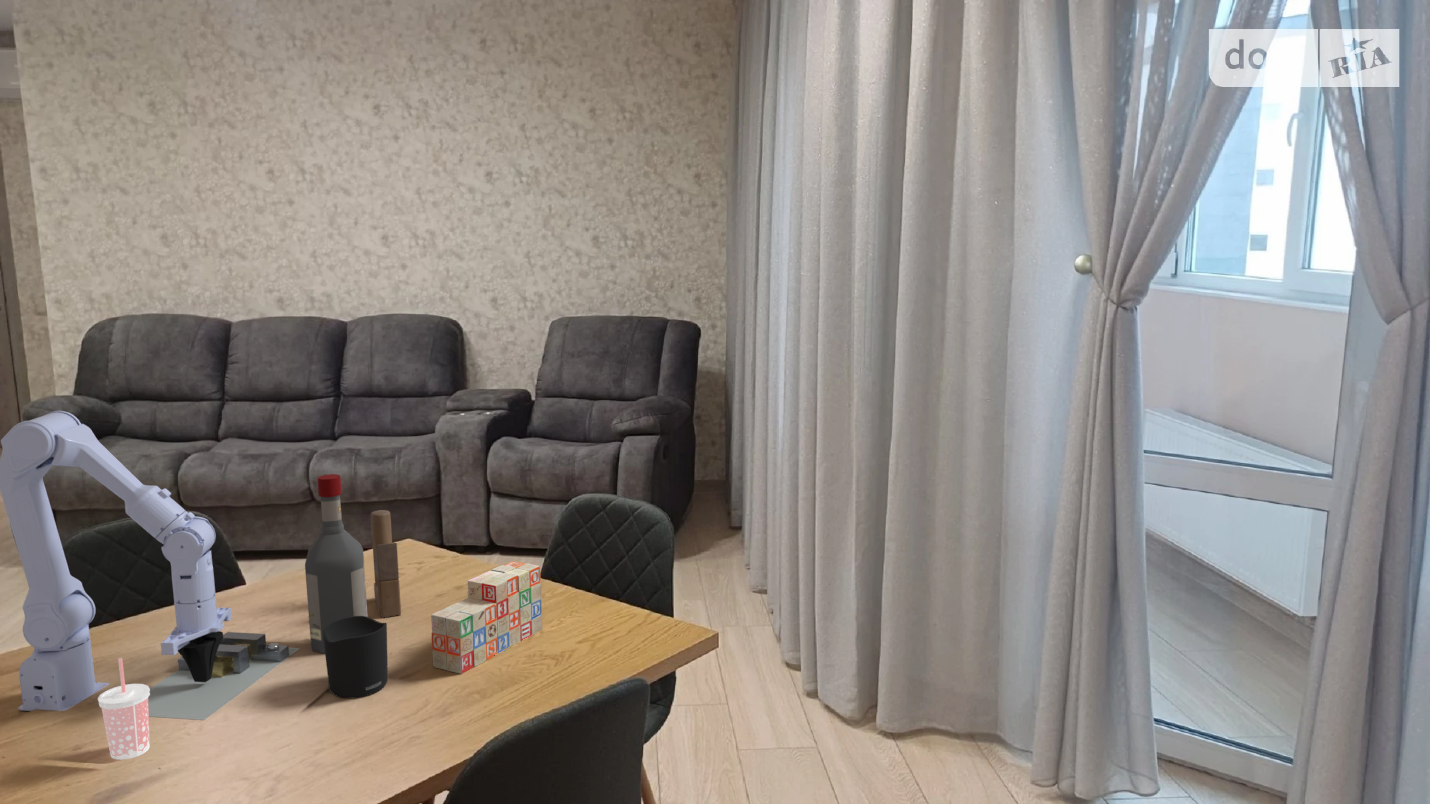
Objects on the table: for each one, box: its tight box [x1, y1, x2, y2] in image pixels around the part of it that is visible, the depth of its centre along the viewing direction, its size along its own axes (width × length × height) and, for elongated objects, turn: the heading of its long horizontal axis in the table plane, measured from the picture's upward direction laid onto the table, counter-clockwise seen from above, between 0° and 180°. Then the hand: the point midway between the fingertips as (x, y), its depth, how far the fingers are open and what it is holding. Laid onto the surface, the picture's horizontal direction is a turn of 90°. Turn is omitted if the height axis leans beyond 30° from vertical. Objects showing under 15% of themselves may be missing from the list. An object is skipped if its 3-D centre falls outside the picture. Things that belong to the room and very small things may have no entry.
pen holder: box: [323, 616, 389, 699], centre depth 159 cm, size 9×9×10 cm
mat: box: [148, 647, 301, 721], centre depth 161 cm, size 26×15×1 cm, turn 172°
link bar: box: [211, 644, 251, 677], centre depth 167 cm, size 11×3×2 cm, turn 172°
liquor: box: [304, 473, 369, 655], centre depth 173 cm, size 9×9×30 cm
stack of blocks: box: [430, 560, 543, 675], centre depth 173 cm, size 21×6×12 cm, turn 152°
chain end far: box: [220, 631, 290, 663], centre depth 169 cm, size 2×11×4 cm, turn 82°
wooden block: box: [370, 509, 402, 618], centre depth 192 cm, size 4×11×18 cm, turn 25°
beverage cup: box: [97, 657, 151, 761], centre depth 138 cm, size 6×6×14 cm
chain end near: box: [177, 644, 250, 674], centre depth 164 cm, size 2×11×4 cm, turn 82°
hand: (202, 680), depth 159 cm, fingers closed
